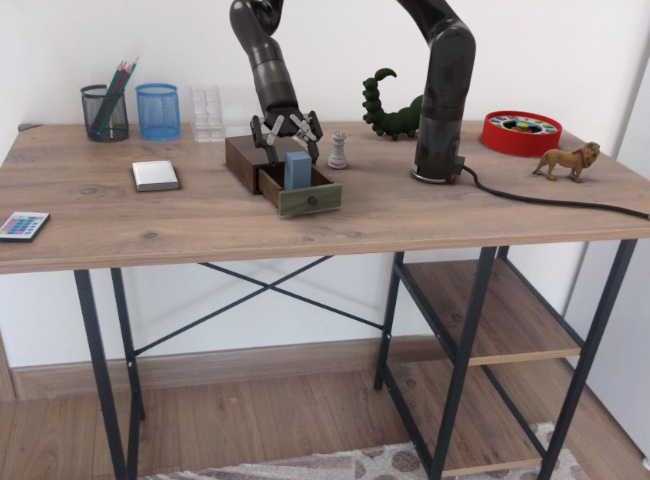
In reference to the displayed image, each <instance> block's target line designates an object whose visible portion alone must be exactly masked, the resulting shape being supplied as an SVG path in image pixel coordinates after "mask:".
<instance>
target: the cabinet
mask: <svg viewBox="0 0 650 480" xmlns="http://www.w3.org/2000/svg"><path fill="white" fill-rule="evenodd" d="M269 134H270V132H267V133H262V136H263V139H264V140H267V138H268V136H269ZM224 141H225V142H224V148H225V165H226V167H228V168H229V170H230V171H231V172H232V174H234V175H235V176H236V177H237V178H238V179H239V181H240V182H241V183H242V184H243V185H244V186H245V187H246V188H247V189H248V190H249V191H250V193H251V194H253V195H255V194H263V193H262V191H261V190H260V189H259V188H258V187H257V186H256V168H259V167H267V166H272V164H270V163H269V161H268V157H267V154H266V151H265V149H263V148H256V147H255V145H254V141H253V136H252V134H248V135H247V134H246V135H237V136H226V137H224ZM272 145H274V146H275V149H276V153H277V156H278V160H279V164H278V165H283V164H285V153H291V152H300V151H304V152H305V153H306V154H307V155H309V152H308V148H306V147H305V146H303V145H302V144H300V143H299V141H297V140H295V138H293V137H287V136H286V137H283V138H279V137H278V136H276V137H275V140H274V142H273V144H272ZM309 156H310V155H309ZM311 163H312V164H314V165H315V166H316V167H317V161H316V162H311Z"/></svg>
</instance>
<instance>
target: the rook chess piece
mask: <svg viewBox="0 0 650 480" xmlns="http://www.w3.org/2000/svg"><path fill="white" fill-rule="evenodd" d="M345 134H346V133H345V132H344V131H341V130H334V131H333V134H332V135H331V138H332V140H333V141H332V151H331V154H330V156H329V157H328V159H327V161H328V162H327V165H328V167H329V168H331V169H334V170H342V169H345V168H346V167H347V158H346V156H345V153H344V152H345V151H344V146H345V139H347V136H346V135H345Z"/></svg>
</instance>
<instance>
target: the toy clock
mask: <svg viewBox="0 0 650 480" xmlns="http://www.w3.org/2000/svg"><path fill="white" fill-rule="evenodd" d="M562 131H563V126H562V124H561V123H560V122H558V121H557V120H555V119H553V118H551V117H548V116H545V115H542V114H539V113H534V112H529V111H523V110H522V111H521V110H495V111H491V112H489V113H487V114H486V115H485V117H484V122H483V127H482V132H481V137H480V140H481V142H482V144H483V145H484V146H486V147H487V148H489V149H492V150H494V151H496V152H499V153H503V154H507V155H511V156H517V157H524V158H542V156H543V155H544V154H545V153H546V152H547V151H548V150H551V149H558V147H559V143H560V139H561V135H562Z"/></svg>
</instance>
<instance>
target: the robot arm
mask: <svg viewBox="0 0 650 480" xmlns="http://www.w3.org/2000/svg"><path fill="white" fill-rule="evenodd" d="M395 1H396V2H397V3H398V4H399V5H400V6H401V7H402V8H403V9H404V10H405V12H407V14H408V15H409V16H410V17H411V18H412V20H413V22H414V23H415V25H416V27H417V28H418V30H419V32H420V34H421V35H422V37H423V40H424V41H425V43H426V45H427V47H428V49H429V58H428V65H427V73H426V80H425V84H424V88H423V92H422V94H423V101H422V108H421V116H420V123H419V130H418V131H417V139H416V146H415V152H414V153H415V155H414V161H412V164H411V168H412V171H411V173H412V176H413V178H414V179H417V180H418V181H420V182H424V183H428V184H435V185H436V184H437V185H438V184H439V185H440V184H451V183H452V181H453V180H454V176H461V175H462V173H463V170H464V171H466V172H467V173H468V174H470V175H471V176H472V179H473V182H474V184H475V186H476V187H477V188H478V189H480V190H482V191H484V192H487V193H489V194H492V195H495V196H501V197H504V198H507V199H513V200H517V201H523V202H529V203H536V204H545V205H553V206H555V205H556V206H568V207H569V206H571V207H582V208H594V209H603V210H609V211H615V212H620V213H625V214H629V215H632V216H636V217H640V218H644V219H648V220H649V218H650V213H645V212H641V211H638V210H634V209H629V208H625V207H621V206H616V205H610V204H604V203H595V202H594V203H593V202H584V201H574V200H573V201H572V200H559V199H545V198H537V197H529V196H524V195H518V194H513V193H509V192H505V191H500V190H494V189H490V188H488V187H486V186H484V185H483V184H481V182H479V177H478V174H477V173H476V172H475V171H474V170H473V169H472V168H470V167H469V166H467V165H465V161H466V157H465V156H461V155H459V150H460V144H461V138H462V135H461V131H462V125H463V118H464V113H465V107H466V102H467V97H468V94H469V91H470V87H471V82H472V78H473V73H474V66H475V61H476V56H477V55H476V54H477V42H476V38H475V36H474V33H473V32H472V30H471V28H470V27H469V26H468V25H467V24H466V23H465V22H464V21H463V20H462V19H461V17H460V16H459V15H458V14H457V12H456V11H454V9H453V8H452V6H451V5H450V4H449V2H447V0H395ZM284 3H285V0H233V1H232V2H231V4H230V7H229V11H228V13H229V14H228V17H229V18H228V19H229V24H230V27H231V29H232V32H233V33H234V36H235V37H236V39H237V41H238V42H239V44H240V46H241V48H242V49H243V51H244V53H245V54H246V55H247V58H248V62H249V65H250V69H251V73H252V76H253V77H252V78H253V84H254V89H255V93H256V95H257V98H258V102H259V105H260V110H261V113H262V115H263V117H262V116H261V117H259V116H258V115H257V114H254V115H253V116H252V117H251V119H250V121H249V127H250V131H251V135H252V136H253V141H254V145H255V147H256V148H263V149H265V151H266V154H267V157H268V161H269V163H270V164H272V166H273V167H277V165H278V164H279V160H278V156H277V153H276V149H275V146H274V145H272V144H273V142H274V140H275V137H276V136H278V137H279V138H283V137H286V136H287V137H292V138H293V137H296V138H297V139H298V140H301V141H302V142H304V143H305V144H306V145H307V146H306V149H307V150H308V152H309V155H310V157H311V158H312V161H311V162H316V163H317V160H319V157H320V151H319V147H318V144H317V143H319V142H320V141H321V139H322V137H323V136H324V133H323V130H322V127H321V123H320V120H319V119H318V116H317V113H316V111H315V110H310V111H309V112H306V113H303V112H301V110H300V107H299V101H298V99H297V95H296V90H295V87H294V85H293V81H292V77H291V74H290V72H289V69H288V68H287V65H286V62H285V57H284V55H283V51H282V48H281V45H280V43H279V41H277V39H275V38H273V37H272V36H274V34H275V33H276V32H277V30H278V29H279V27H280V24H281V21H282V15H283V10H284V9H283V8H284V5H285V4H284ZM303 121H304V122H305V124H304V123H303ZM263 125H264V126H265V127H266V128H267V129H268V130H269V131H270V132H269V133H270V134H269V136H268V138H267V140H264V139H263V136H262V134H263V131H262V127H263ZM307 125H308V126H307Z"/></svg>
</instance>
